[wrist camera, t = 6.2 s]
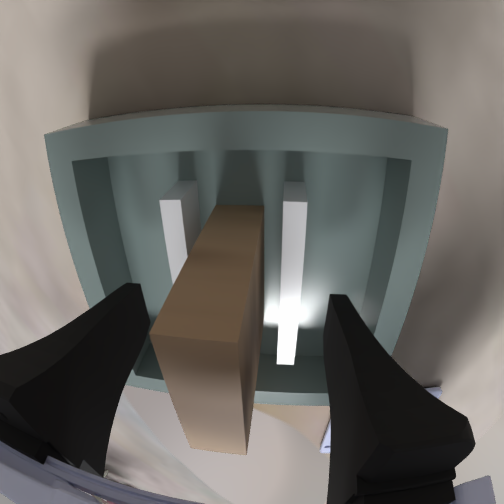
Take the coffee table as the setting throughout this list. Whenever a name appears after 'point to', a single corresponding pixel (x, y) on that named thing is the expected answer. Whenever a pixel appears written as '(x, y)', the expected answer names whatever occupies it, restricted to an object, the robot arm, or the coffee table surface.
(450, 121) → the coffee table surface
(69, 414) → the robot arm
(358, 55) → the coffee table surface
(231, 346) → the wood block
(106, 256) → the slotted divider tray
